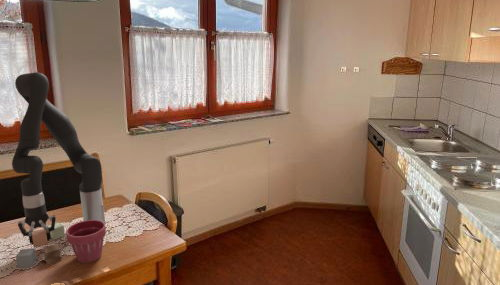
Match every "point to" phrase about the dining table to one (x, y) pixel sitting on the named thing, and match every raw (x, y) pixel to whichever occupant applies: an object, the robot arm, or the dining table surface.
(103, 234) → the plant pot
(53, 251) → the walnut cube
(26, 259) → the slate cube
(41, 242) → the terracotta cube
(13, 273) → the dining table surface
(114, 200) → the dining table surface
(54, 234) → the sage cube
